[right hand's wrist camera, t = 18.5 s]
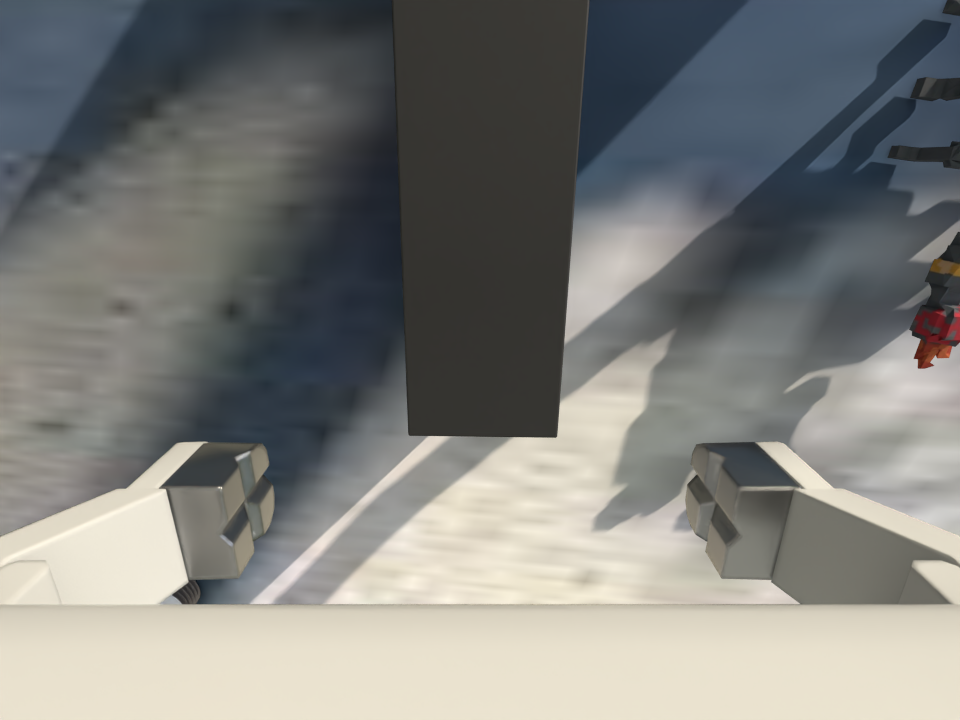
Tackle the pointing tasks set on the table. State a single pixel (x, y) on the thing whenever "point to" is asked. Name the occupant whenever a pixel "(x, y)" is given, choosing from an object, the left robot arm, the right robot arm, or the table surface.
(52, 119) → the table surface
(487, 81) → the box
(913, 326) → the toy
